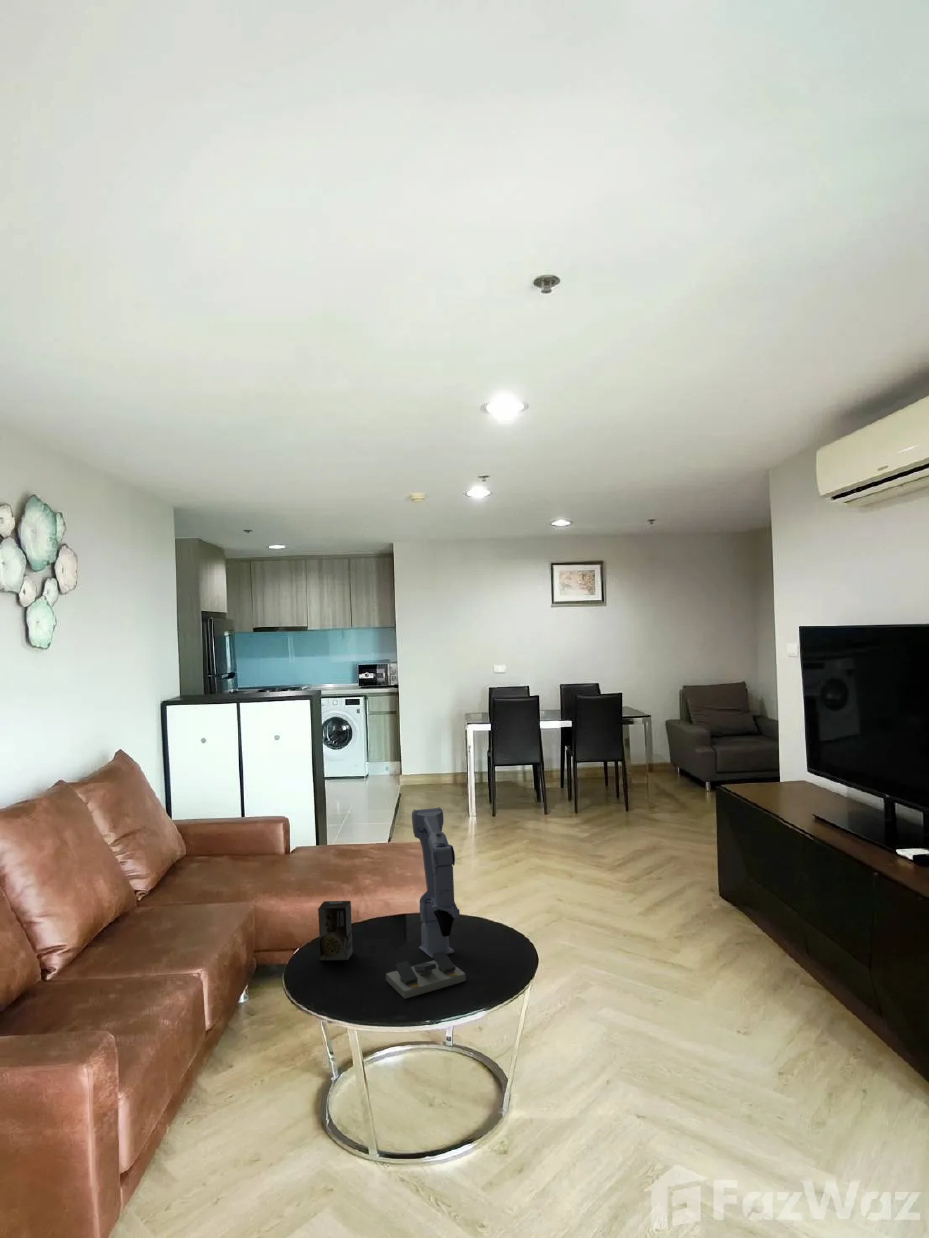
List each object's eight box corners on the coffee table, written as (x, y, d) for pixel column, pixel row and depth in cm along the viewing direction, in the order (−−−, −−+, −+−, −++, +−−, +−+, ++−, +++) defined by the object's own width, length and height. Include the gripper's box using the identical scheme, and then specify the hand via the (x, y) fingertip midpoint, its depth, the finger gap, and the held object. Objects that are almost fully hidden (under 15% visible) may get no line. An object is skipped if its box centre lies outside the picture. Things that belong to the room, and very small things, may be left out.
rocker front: (395, 967, 202) (395, 963, 202) (406, 964, 204) (406, 960, 203) (405, 984, 196) (406, 981, 195) (417, 981, 197) (417, 977, 197)
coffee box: (353, 951, 224) (351, 900, 225) (347, 960, 218) (346, 907, 219) (325, 951, 225) (323, 900, 226) (319, 960, 219) (317, 907, 220)
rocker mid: (414, 970, 205) (414, 965, 205) (425, 967, 206) (424, 962, 207) (425, 971, 199) (424, 966, 199) (436, 968, 200) (435, 963, 201)
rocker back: (432, 957, 208) (433, 953, 208) (443, 954, 210) (443, 951, 209) (444, 973, 201) (444, 969, 201) (455, 970, 203) (455, 966, 203)
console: (386, 980, 203) (385, 970, 204) (444, 964, 213) (444, 954, 213) (404, 998, 192) (404, 987, 192) (465, 980, 201) (465, 970, 201)
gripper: (421, 884, 213) (423, 930, 213) (443, 897, 201) (445, 946, 200) (442, 880, 217) (443, 925, 216) (465, 892, 204) (467, 940, 203)
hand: (446, 935), depth 208 cm, fingers closed
